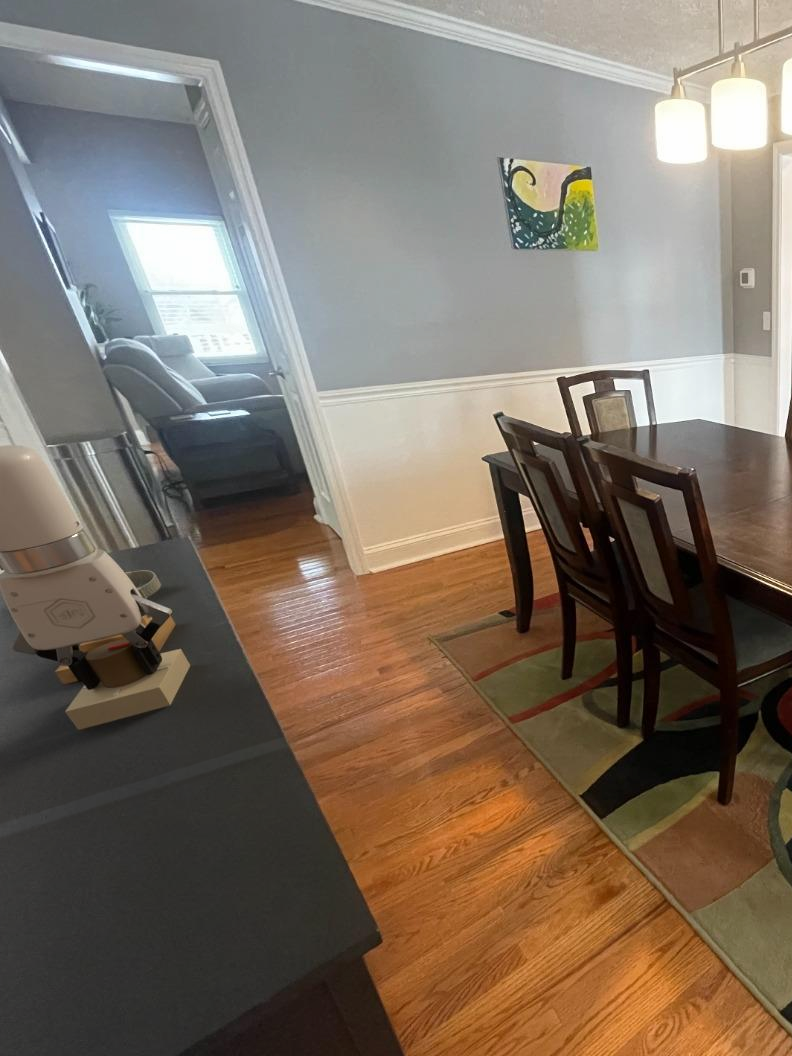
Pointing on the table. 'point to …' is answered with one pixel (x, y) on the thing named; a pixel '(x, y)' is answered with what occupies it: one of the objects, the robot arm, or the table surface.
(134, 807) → the table surface
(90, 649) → the block
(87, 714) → the volume panel
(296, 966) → the table surface
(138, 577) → the grey woven basket
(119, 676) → the volume knob
